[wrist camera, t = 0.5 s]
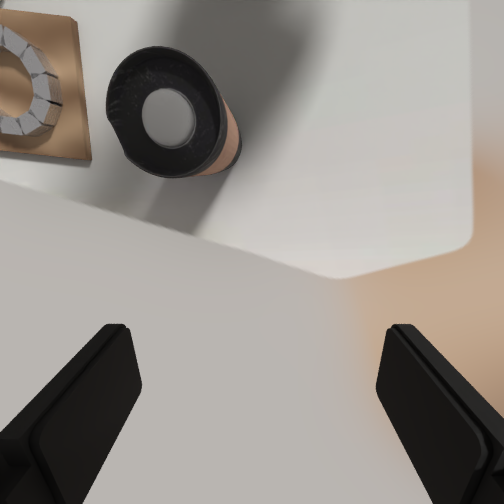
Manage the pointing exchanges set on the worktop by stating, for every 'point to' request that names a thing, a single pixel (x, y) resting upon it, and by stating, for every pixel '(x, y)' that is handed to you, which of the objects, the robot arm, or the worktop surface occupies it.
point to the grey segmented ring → (44, 88)
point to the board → (70, 75)
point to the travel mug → (171, 115)
